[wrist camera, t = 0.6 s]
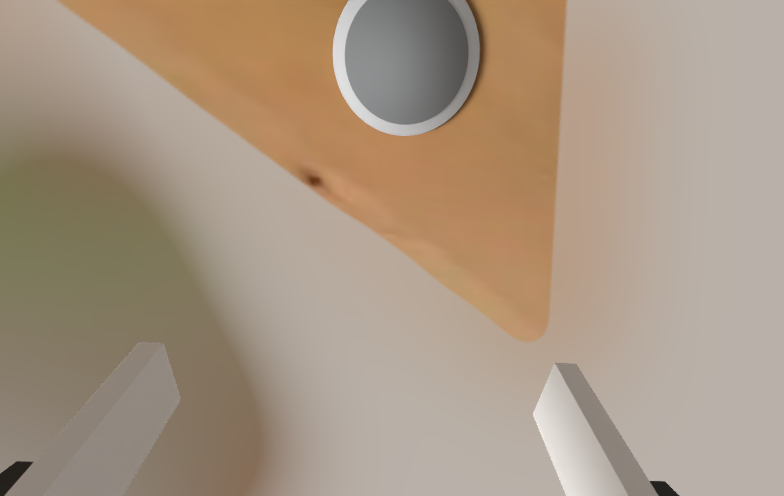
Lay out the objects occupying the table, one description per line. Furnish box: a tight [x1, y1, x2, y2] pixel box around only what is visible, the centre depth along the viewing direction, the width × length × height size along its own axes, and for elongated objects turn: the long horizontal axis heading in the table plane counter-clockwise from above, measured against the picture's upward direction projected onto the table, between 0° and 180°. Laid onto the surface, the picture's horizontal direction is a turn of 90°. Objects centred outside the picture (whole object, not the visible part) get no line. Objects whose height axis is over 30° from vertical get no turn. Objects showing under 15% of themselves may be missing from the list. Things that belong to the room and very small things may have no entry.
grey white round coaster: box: [333, 0, 480, 136], centre depth 28 cm, size 12×12×1 cm
